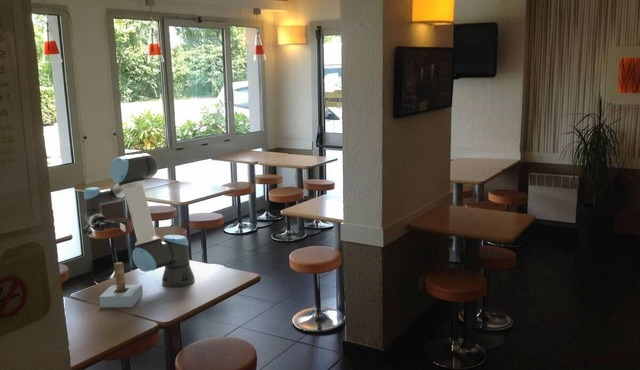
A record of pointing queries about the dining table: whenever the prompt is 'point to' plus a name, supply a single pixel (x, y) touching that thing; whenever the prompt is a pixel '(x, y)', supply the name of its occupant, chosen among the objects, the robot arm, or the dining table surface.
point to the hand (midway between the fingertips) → (109, 231)
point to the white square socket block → (121, 296)
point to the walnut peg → (120, 277)
